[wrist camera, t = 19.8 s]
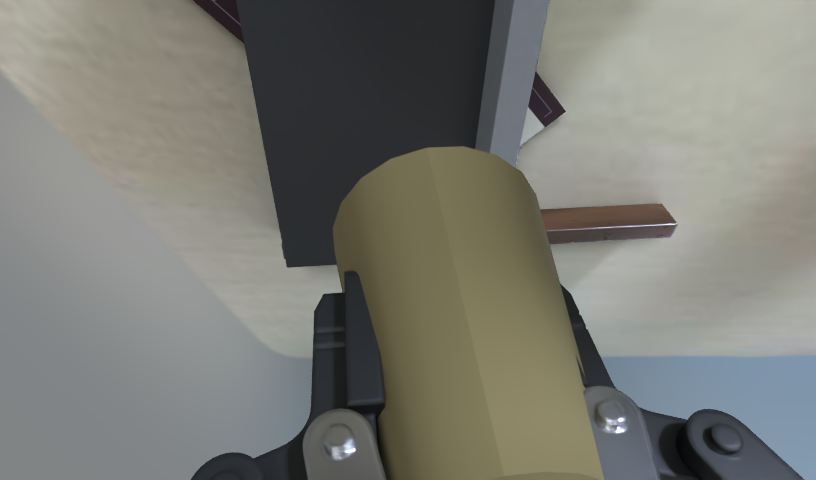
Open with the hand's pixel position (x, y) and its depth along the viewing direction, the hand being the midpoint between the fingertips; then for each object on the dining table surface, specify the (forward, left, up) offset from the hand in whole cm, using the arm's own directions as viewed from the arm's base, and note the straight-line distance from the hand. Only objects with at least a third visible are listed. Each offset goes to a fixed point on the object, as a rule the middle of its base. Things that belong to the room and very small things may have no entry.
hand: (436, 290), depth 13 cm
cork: (0, 0, -3) cm, 3 cm away
